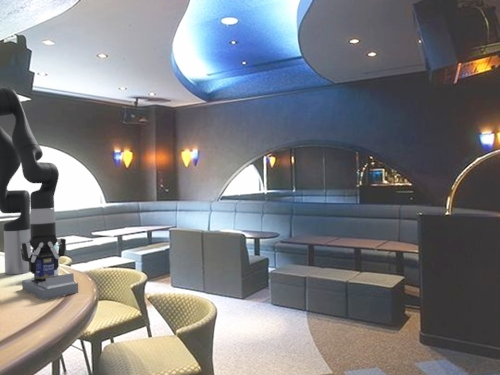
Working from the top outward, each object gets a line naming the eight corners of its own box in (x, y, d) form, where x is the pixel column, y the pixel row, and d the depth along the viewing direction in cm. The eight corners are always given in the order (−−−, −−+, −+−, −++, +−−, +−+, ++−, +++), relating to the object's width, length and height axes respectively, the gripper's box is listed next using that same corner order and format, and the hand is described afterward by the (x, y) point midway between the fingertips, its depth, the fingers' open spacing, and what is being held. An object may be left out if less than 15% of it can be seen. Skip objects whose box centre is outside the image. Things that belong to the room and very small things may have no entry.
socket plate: (22, 289, 132) (22, 280, 132) (55, 282, 140) (55, 274, 140) (43, 300, 119) (42, 290, 119) (78, 292, 126) (78, 283, 126)
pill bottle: (45, 281, 128) (44, 248, 128) (29, 281, 129) (28, 247, 129) (58, 277, 134) (57, 245, 134) (43, 276, 135) (42, 245, 135)
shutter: (38, 284, 125) (37, 274, 125) (64, 280, 131) (63, 270, 131) (47, 289, 120) (47, 278, 120) (74, 283, 125) (73, 273, 125)
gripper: (22, 224, 124) (24, 277, 124) (69, 220, 134) (70, 269, 134) (15, 223, 129) (16, 273, 129) (60, 219, 139) (62, 266, 139)
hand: (44, 271), depth 132 cm, fingers closed on pill bottle, 6 cm apart
